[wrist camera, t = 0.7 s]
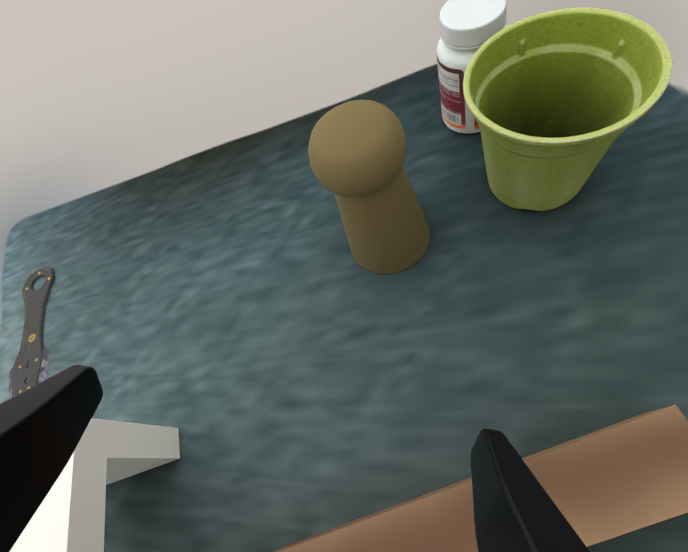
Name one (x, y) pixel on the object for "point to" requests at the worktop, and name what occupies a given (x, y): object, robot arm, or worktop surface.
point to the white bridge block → (94, 484)
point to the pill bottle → (463, 53)
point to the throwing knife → (32, 336)
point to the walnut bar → (560, 484)
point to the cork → (370, 184)
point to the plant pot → (560, 98)
